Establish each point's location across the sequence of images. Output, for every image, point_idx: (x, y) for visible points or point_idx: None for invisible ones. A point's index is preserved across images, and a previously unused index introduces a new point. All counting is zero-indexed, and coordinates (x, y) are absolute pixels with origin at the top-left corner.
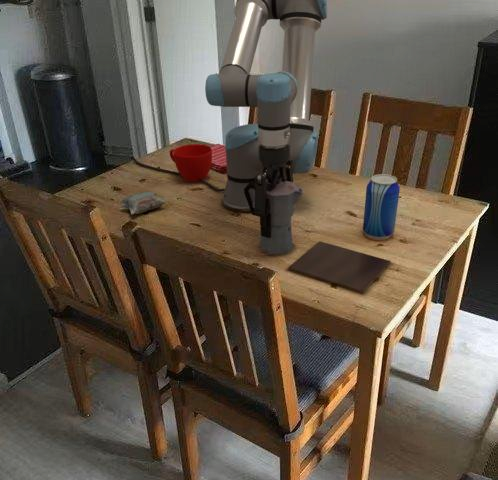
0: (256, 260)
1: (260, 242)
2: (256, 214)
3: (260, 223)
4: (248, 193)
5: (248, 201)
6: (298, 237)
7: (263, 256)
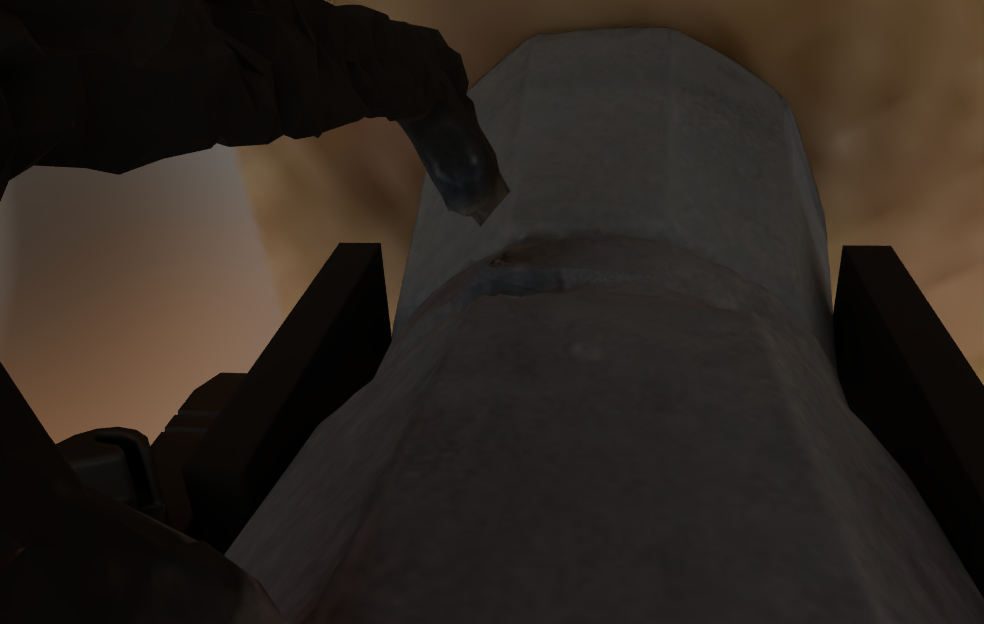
0: (259, 192)
1: (478, 102)
2: (419, 154)
3: (184, 412)
4: (65, 146)
5: (238, 33)
6: (960, 304)
7: (368, 207)
